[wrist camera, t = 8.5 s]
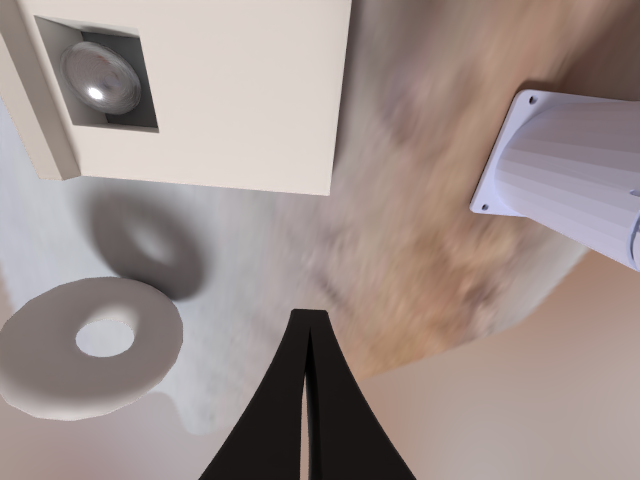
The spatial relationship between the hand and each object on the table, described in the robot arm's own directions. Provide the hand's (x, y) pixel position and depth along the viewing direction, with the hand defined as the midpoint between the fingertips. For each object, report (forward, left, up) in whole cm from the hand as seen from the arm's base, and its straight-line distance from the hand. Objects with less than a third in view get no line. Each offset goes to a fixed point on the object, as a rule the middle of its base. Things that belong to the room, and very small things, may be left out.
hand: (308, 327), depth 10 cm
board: (+7, -8, -10) cm, 15 cm away
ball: (+12, -8, -9) cm, 17 cm away
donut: (+14, +8, -11) cm, 19 cm away
